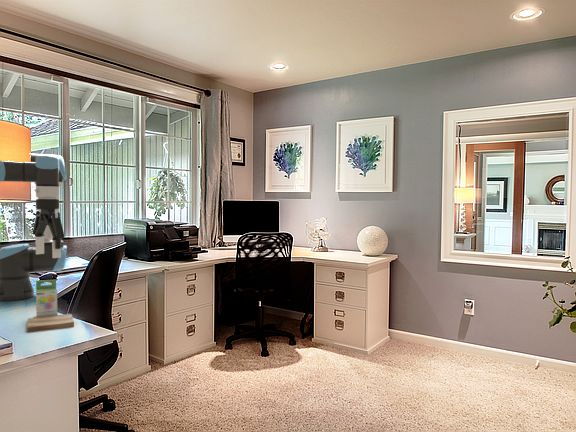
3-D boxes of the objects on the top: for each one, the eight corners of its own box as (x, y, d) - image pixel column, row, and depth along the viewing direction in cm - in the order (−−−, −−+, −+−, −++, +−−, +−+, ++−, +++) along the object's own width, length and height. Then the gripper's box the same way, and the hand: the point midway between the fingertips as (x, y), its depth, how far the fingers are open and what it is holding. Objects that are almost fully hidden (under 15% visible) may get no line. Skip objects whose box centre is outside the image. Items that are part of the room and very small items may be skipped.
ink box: (36, 318, 160) (35, 282, 160) (36, 315, 164) (35, 280, 163) (57, 316, 164) (57, 280, 163) (57, 313, 167) (56, 279, 167)
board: (28, 322, 155) (27, 318, 155) (71, 317, 162) (71, 313, 162) (27, 331, 144) (27, 327, 144) (73, 326, 151) (73, 322, 151)
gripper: (22, 197, 163) (22, 253, 164) (52, 199, 148) (53, 260, 149) (43, 197, 169) (43, 251, 170) (74, 199, 154) (75, 258, 155)
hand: (48, 255), depth 160 cm, fingers open, 13 cm apart
